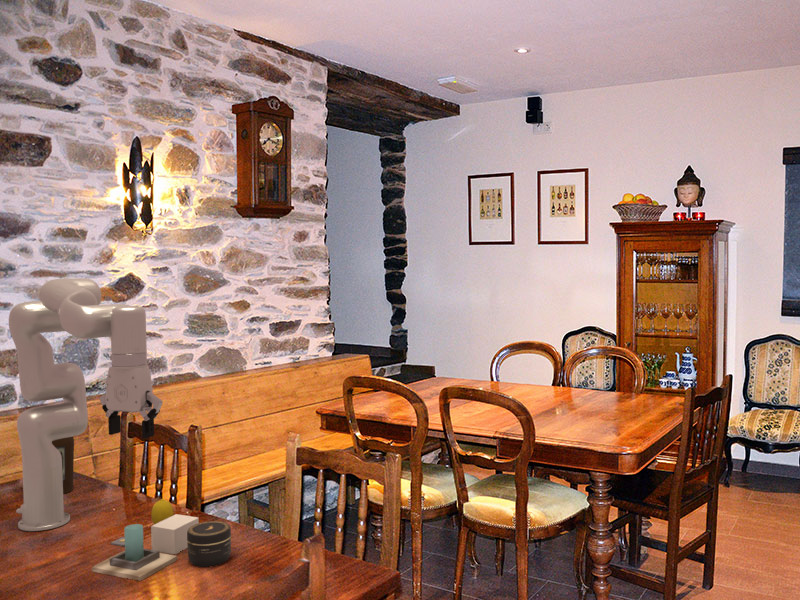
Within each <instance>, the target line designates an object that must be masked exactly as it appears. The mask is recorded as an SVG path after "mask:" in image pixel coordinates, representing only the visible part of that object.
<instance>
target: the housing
mask: <svg viewBox="0 0 800 600" xmlns="http://www.w3.org/2000/svg"><path fill="white" fill-rule="evenodd" d="M199 521H200V520H199V516H198V517H197V516H191V515H183V514H177V513H174V515H173V516H171V517H169V518H167V519H165V520H163V521H161V522H159V523H157V524H153V525H151V526H150V532H151V533H150V535H151V550H155V551H159V553H163V554H169V555H174V554H175V555H177V554H179V553H181V552H183V551H184V550H186V549H188V543H187V531H188V529H189V528H190V527H191V526H193V525H195V524H198V523H200V522H199ZM182 550H183V551H182ZM180 551H181V552H180Z"/></svg>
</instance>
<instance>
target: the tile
mask: <svg viewBox="0 0 800 600" xmlns="http://www.w3.org/2000/svg"><path fill="white" fill-rule="evenodd" d="M110 545H113V546H119V547H125V536H122V537H120V538H118V539H116V540H113V541H112V542H110Z"/></svg>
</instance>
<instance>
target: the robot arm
mask: <svg viewBox="0 0 800 600" xmlns="http://www.w3.org/2000/svg"><path fill="white" fill-rule="evenodd" d="M38 292H39V293H38V298H39V300H33V301H32V300H31V301H24V302H21V303H18V304H15V305H14V306H13V307H12V308H11V309H10V311H9V315H8V328H9V332H10V336H11V338H12V341H13V343H14V346H15V349H16V353H17V363H18V364H17V367H18V378H19V387H20V388H19V389H20V392H21V395H22V398H23V400H25V401H27V402H31V403H32V402H34V403H35V402H44V401H50V400H51V401H52V400H58V399H62V400H63V402H62V403H61V402H60V403H54V404H48V405H46V404H45V405H41V406H34V407H31V408H28V409H25V410H24V411H22V412H21V413H20V414H19V415H18V418H17V420H16V430H17V435H18V438H19V444H20V450H21V461H22V465H21V466H22V488H23V491H22V493H23V503H22V504H21V505H20V507H19V508H17V509H16V514H19V515H20V514H21V519H20V520H19V521H18V523H17V528H18V529H19V530H21V531H24V532H39V531H48V530H52V529H55V528H59V527H62V526H64V525H66V524H67V523H69V522H70V520H71V514H70V513H69V512H67V511H66V512H65V510H64V494H63V475H62V457H61V454H60V452H59V451H58V450H57V449H56V448H55V447H54V445H53V444H52V441H54V440H57V439H62V438H67V437H72V436H73V437H77V436H79V435H82V434H83V433H84V432H85V431H86V430H87V427H88V424H89V423H88V422H89V416H88V413H89V412H88V405H87V404H88V403H87V402H88V401H87V391H86V381H85V377H84V372H83V371H82V369H81V367H80V366H79V365H78V364H76V363H74V362H62V363H61V362H60V363H55V361H54V349H53V346H52V345H51V343H50V341H48V339H47V338H46V337H45V335H43V334H42V333H59V332H60V333H61V332H66V333H68V334H70V335H72V336H73V337H76V338H78V339H84V340H85V339H89V340H90V339H98V338H109V337H110V345H111V347H110V348H111V349H110V353H111V354H110V355H109V360H110V361H111V366H109V367H108V370H107V375H106V376H107V377H106V386H105V387H106V388H105V393H104V394H103V395H101V396H99V402H100V404H101V409H102V410H103V411H104V413H105V417H106V418H107V419H108V421H107V422H108V424H107V425H108V435H109V436H113V435H116V434H120V433H121V432H122V425H121V423H122V422H121V420H122V419H121V415H120V413H139V414H140V415H141V417H142V418H143V420H142V421H141V438H142V439H148V438H151V437H154V436H155V419H157V416H158V414H159V413H160V412H161V408H162V405H163V403H164V402H163V400H162V399H161V398H159V397H157V395H155V394H154V392H153V383H152V376H151V370H150V366H149V365H148V355H147V354H148V353H147V351H148V350H147V349H148V348H147V318H146V317H147V314H146V310H145V308H144V307H142V306H139V305H129V304H123V303H118V304H117V303H114V304H101V301H102V290H101V288H100V285H99V284H98V282H96V281H94V280H93V279H90V278H85V277H84V278H82V277H81V278H77V277H76V278H53V279H50V280H48V281H47V282H45V283H44V284H42V286H41V287H40V288H39V291H38Z"/></svg>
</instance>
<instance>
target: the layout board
mask: <svg viewBox="0 0 800 600" xmlns="http://www.w3.org/2000/svg"><path fill="white" fill-rule="evenodd" d="M176 560H177V561H178V556H177V555H174V554H168V553H163V552H159V551H155V550H152V549H149V548H144V558H142V559H140V560H138V561H137V562H133V561H128V560H125V550H123V551H121V552H119V553H117V554H114V555H113V556H110V557H109V558H107V559H105V560H103V561H101V562H99V563H97V564H95V565H93V566H91V572H93V573H97V574H103V575H108V576H113V577H118V578H123V579H127V578H128V579H129V580H132V579H133V581H137V580H138V582H141V580H142V581H143V580H145V579H146V578H149V577H150V576H152V575H153V574H156V573H157V572H159V571H161V570H162V569H164V568H166V567H168V566H169V565H171V564H173V563H174V562H177V561H176Z"/></svg>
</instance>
